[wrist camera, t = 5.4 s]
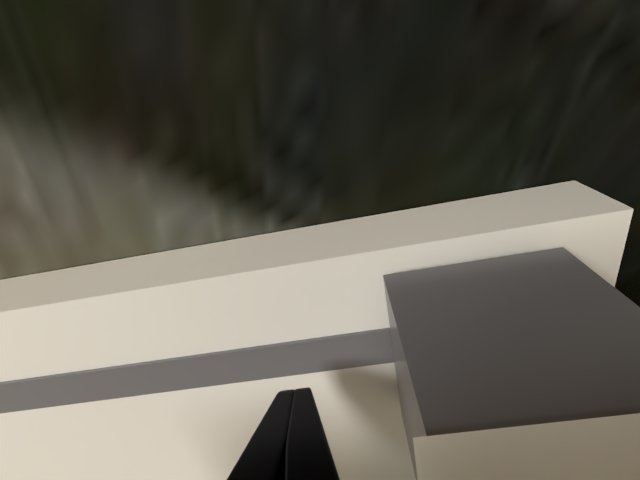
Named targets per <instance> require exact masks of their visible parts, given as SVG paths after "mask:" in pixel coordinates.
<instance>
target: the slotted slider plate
mask: <svg viewBox="0 0 640 480" xmlns="http://www.w3.org/2000/svg"><path fill="white" fill-rule="evenodd" d="M633 210H634V209H633V208H631V207H629V206H627V205H625V204H623V203H621V202H618V201H616V200H614V199H612V198H610V197H608V196H606V195H604V194H602V193H600V192H598V191H596V190H594V189H591V188H589V187H587V186H585V185H583V184H581V183H579V182H577V181H575V180H574V181H568V182H562V183H557V184H551V185H545V186H539V187H534V188H528V189H522V190H516V191H511V192H505V193H499V194H493V195H487V196H482V197H476V198H470V199H464V200H459V201H453V202H447V203H441V204H436V205H430V206H424V207H418V208H413V209H407V210H401V211H395V212H390V213H384V214H378V215H372V216H366V217H361V218H355V219H349V220H343V221H338V222H332V223H326V224H320V225H315V226H309V227H303V228H297V229H292V230H286V231H280V232H274V233H268V234H263V235H257V236H251V237H245V238H240V239H234V240H228V241H222V242H217V243H211V244H205V245H199V246H194V247H188V248H182V249H176V250H170V251H165V252H159V253H153V254H147V255H142V256H136V257H130V258H124V259H119V260H113V261H107V262H101V263H96V264H90V265H84V266H78V267H72V268H67V269H61V270H55V271H49V272H44V273H38V274H32V275H26V276H21V277H15V278H9V279H3V280H0V480H227V478H228V476H229V475H230V473H231V471H232V470H233V468H234V466H235V464H236V463H237V461H238V459H239V458H240V456H241V454H242V453H243V451H244V449H245V447H246V446H247V444H248V442H249V441H250V439H251V437H252V435H253V434H254V432H255V430H256V429H257V427H258V425H259V424H260V422H261V420H262V418H263V417H264V415H265V413H266V412H267V410H268V408H269V407H270V405H271V403H272V401H273V400H274V398H275V396H276V395H277V393H278V392H280V391H283V390H291V389H294V390H295V389H299V388H307V387H309V388H311V390H312V393H313V397H314V400H315V403H316V406H317V409H318V412H319V415H320V419H321V422H322V425H323V428H324V431H325V434H326V438H327V441H328V444H329V447H330V450H331V453H332V456H333V460H334V463H335V466H336V469H337V472H338V475H339V479H340V480H416V478H415V474H414V469H413V464H412V460H411V455H410V451H409V446H408V441H407V437H406V432H405V428H404V423H403V419H402V414H401V407H400V400H399V392H398V385H397V377H396V370H395V362H394V355H393V347H392V340H391V332H390V325H389V317H388V310H387V302H386V295H385V287H384V280H383V275H386V274H393V273H399V272H406V271H412V270H419V269H425V268H431V267H438V266H444V265H451V264H457V263H463V262H470V261H476V260H483V259H489V258H496V257H502V256H508V255H515V254H521V253H528V252H534V251H541V250H547V249H553V248H560V247H564V248H565V249H566V250H567V251H569V252H570V253H571V254H572V255H574V256H575V257H576V258H578V259H579V260H580V261H581V262H583V263H584V264H585V265H587V266H588V267H589V268H590V269H592V270H593V271H594V272H595V273H597V274H598V275H599V276H601V277H602V278H603V279H604V280H606V281H607V282H608V283H609V284H611V285H612V286H613V287H615V283H616V279H617V275H618V271H619V267H620V263H621V259H622V255H623V251H624V247H625V242H626V238H627V234H628V230H629V226H630V222H631V218H632V214H633Z"/></svg>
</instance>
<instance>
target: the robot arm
mask: <svg viewBox="0 0 640 480" xmlns="http://www.w3.org/2000/svg"><path fill="white" fill-rule="evenodd" d="M227 480H340V479H339V475H338V472H337V469H336V466H335V463H334V460H333V456H332V453H331V450H330V447H329V444H328V441H327V438H326V434H325V431H324V428H323V425H322V422H321V419H320V415H319V412H318V409H317V406H316V403H315V400H314V397H313V393H312V390H311V388H309V387H307V388H299V389H295V390H294V389H291V390H283V391H280V392H278V393H277V395H276V396H275V398H274V400H273V401H272V403H271V405H270V407H269V408H268V410H267V412H266V413H265V415H264V417H263V418H262V420H261V422H260V424H259V425H258V427H257V429H256V430H255V432H254V434H253V435H252V437H251V439H250V441H249V442H248V444H247V446H246V447H245V449H244V451H243V453H242V454H241V456H240V458H239V459H238V461H237V463H236V464H235V466H234V468H233V470H232V471H231V473H230V475H229V476H228V478H227Z"/></svg>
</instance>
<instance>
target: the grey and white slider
mask: <svg viewBox="0 0 640 480" xmlns="http://www.w3.org/2000/svg"><path fill="white" fill-rule="evenodd" d="M383 280H384V287H385V295H386V302H387V310H388V317H389V325H390V332H391V340H392V347H393V355H394V362H395V370H396V377H397V385H398V392H399V400H400V407H401V414H402V419H403V423H404V428H405V432H406V437H407V441H408V446H409V451H410V455H411V460H412V464H413V469H414V474H415V478H416V480H640V307H639V306H638V305H636V304H635V303H634V302H632V301H631V300H630V299H629V298H627V297H626V296H625V295H624V294H622V293H621V292H620V291H618V290H617V289H616V288H615V287H613V286H612V285H611V284H609V283H608V282H607V281H606V280H604V279H603V278H602V277H601V276H599V275H598V274H597V273H595V272H594V271H593V270H592V269H590V268H589V267H588V266H587V265H585V264H584V263H583V262H581V261H580V260H579V259H578V258H576V257H575V256H574V255H572V254H571V253H570V252H569V251H567V250H566V249H565V248H564V247H560V248H553V249H547V250H541V251H534V252H528V253H521V254H515V255H508V256H502V257H496V258H489V259H483V260H476V261H470V262H463V263H457V264H451V265H444V266H438V267H431V268H425V269H419V270H412V271H406V272H399V273H393V274H386V275H383Z"/></svg>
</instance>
